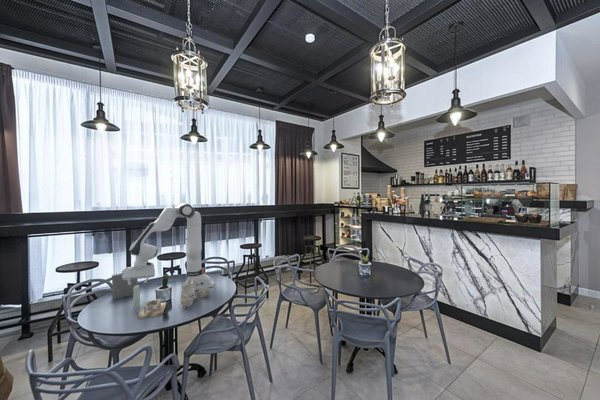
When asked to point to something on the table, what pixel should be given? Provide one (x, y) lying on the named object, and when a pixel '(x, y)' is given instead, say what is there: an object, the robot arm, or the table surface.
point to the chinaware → (191, 293)
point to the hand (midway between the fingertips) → (137, 283)
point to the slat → (136, 296)
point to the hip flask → (122, 286)
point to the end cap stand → (152, 309)
